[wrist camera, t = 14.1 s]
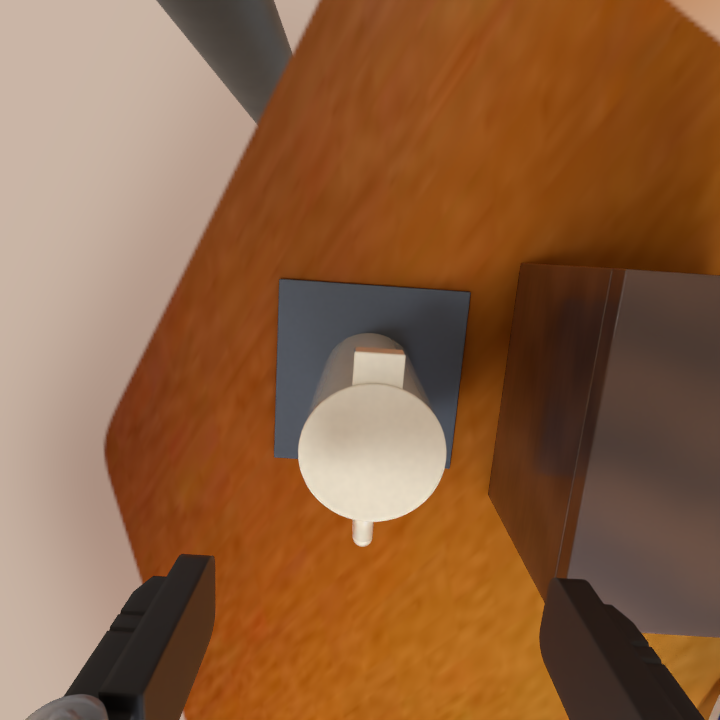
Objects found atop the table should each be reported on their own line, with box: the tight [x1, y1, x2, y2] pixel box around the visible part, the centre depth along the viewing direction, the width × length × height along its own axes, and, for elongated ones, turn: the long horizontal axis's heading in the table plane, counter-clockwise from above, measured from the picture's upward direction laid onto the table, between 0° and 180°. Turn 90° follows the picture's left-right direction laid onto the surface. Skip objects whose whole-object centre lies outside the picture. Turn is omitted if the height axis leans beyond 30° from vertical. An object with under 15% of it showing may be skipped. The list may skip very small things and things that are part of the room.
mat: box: [274, 279, 471, 469], centre depth 31 cm, size 12×12×1 cm
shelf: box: [488, 263, 720, 637], centre depth 25 cm, size 16×12×12 cm
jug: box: [298, 333, 447, 547], centre depth 25 cm, size 10×6×12 cm, turn 176°
